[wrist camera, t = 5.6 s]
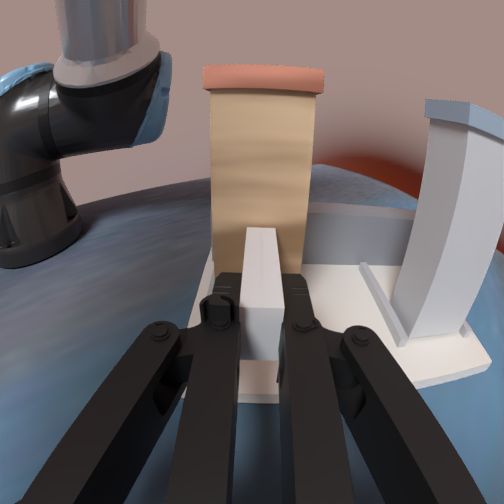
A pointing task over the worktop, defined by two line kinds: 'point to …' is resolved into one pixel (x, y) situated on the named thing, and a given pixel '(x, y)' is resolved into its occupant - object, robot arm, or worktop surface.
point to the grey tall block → (452, 219)
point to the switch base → (359, 296)
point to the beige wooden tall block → (260, 157)
